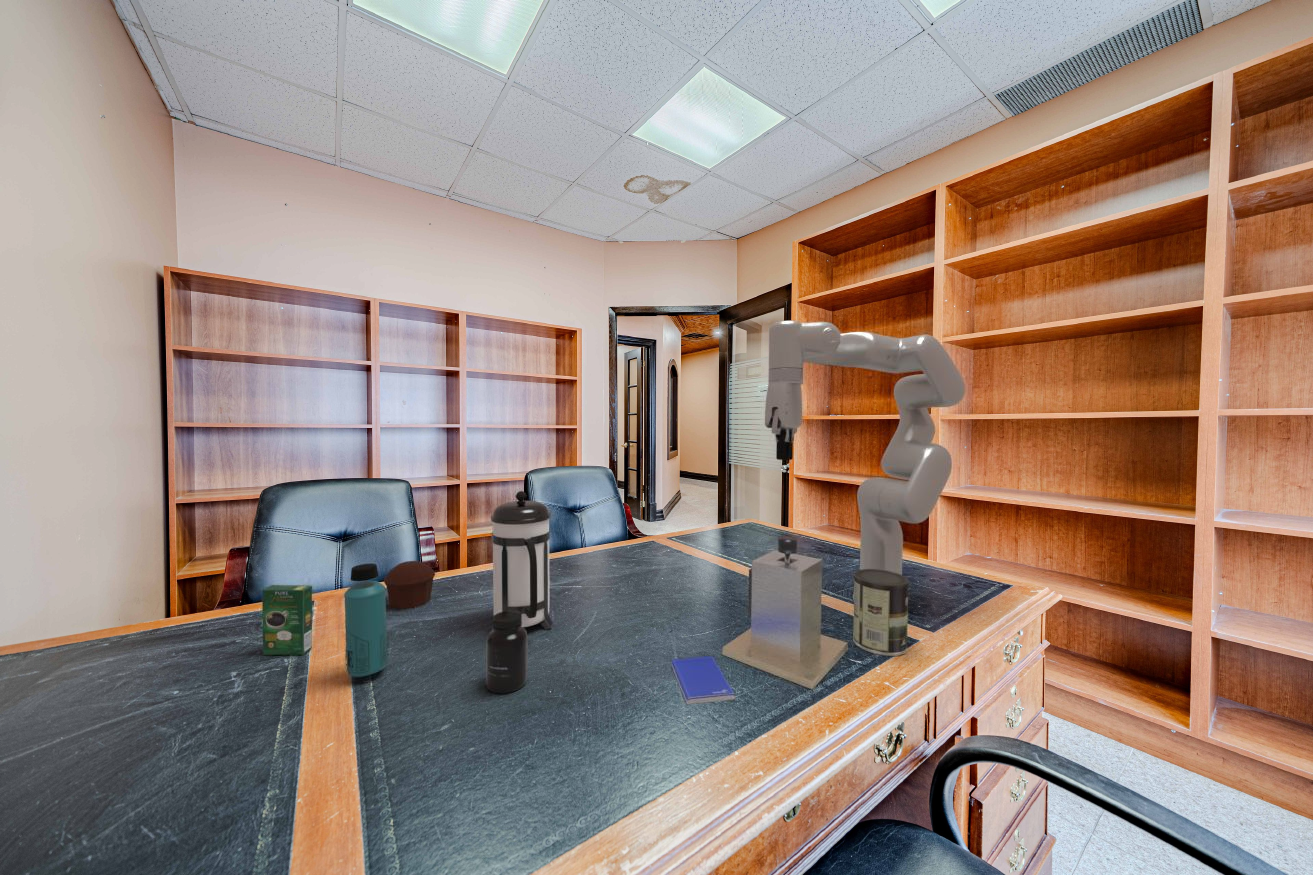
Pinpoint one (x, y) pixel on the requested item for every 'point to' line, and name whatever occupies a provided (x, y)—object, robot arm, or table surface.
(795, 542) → the plunger
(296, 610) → the coffee box
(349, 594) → the beverage bottle
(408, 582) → the muffin
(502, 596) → the coffee press
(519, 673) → the supplement bottle
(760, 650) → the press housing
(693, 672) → the hard drive
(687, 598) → the table surface
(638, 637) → the table surface
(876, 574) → the coffee can
